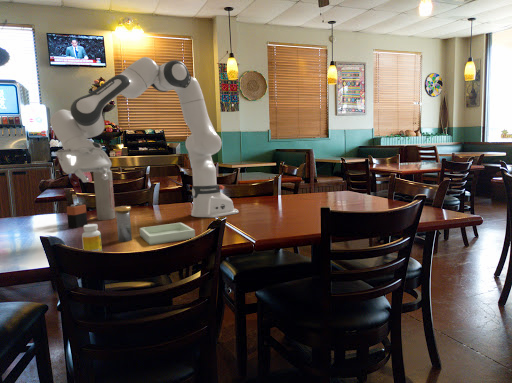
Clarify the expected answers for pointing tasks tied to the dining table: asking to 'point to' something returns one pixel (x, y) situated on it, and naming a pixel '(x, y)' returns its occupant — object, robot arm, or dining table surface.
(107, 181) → the thermos bottle
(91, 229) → the supplement bottle
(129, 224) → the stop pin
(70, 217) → the battery
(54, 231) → the dining table surface
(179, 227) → the tray
